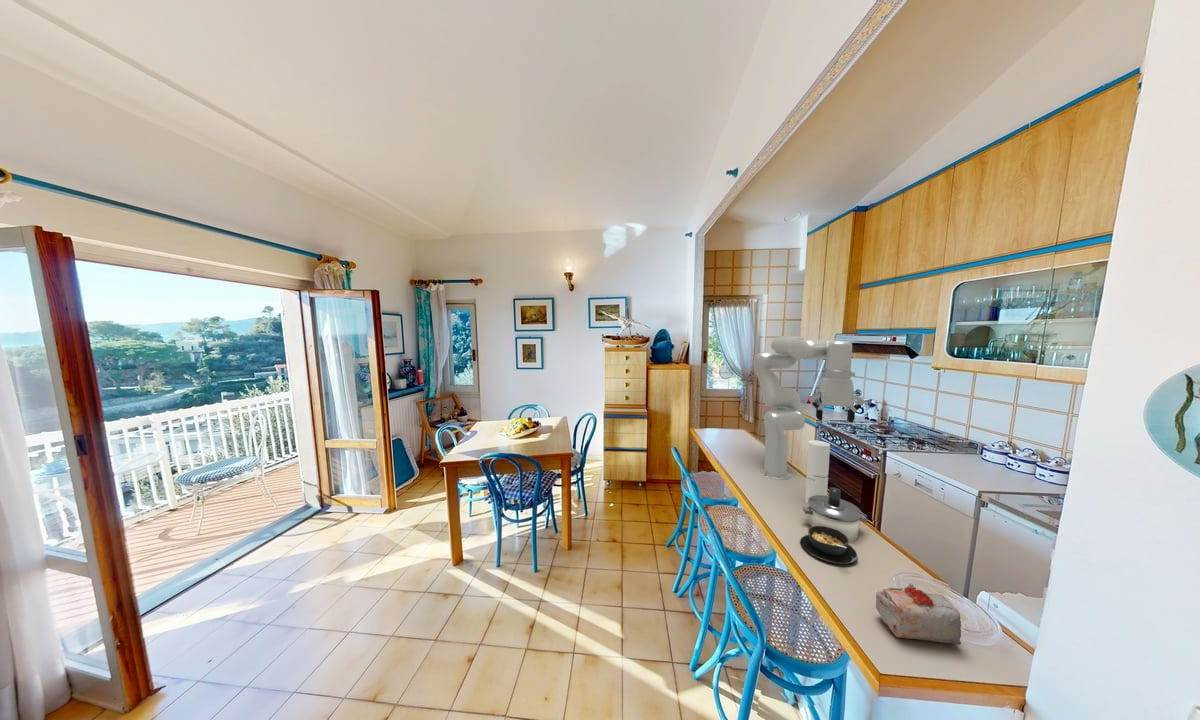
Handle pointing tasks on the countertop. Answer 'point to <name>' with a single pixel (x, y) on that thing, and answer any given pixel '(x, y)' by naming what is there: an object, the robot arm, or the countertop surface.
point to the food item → (919, 615)
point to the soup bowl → (828, 545)
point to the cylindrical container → (817, 468)
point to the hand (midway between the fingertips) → (834, 420)
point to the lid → (834, 506)
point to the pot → (835, 524)
